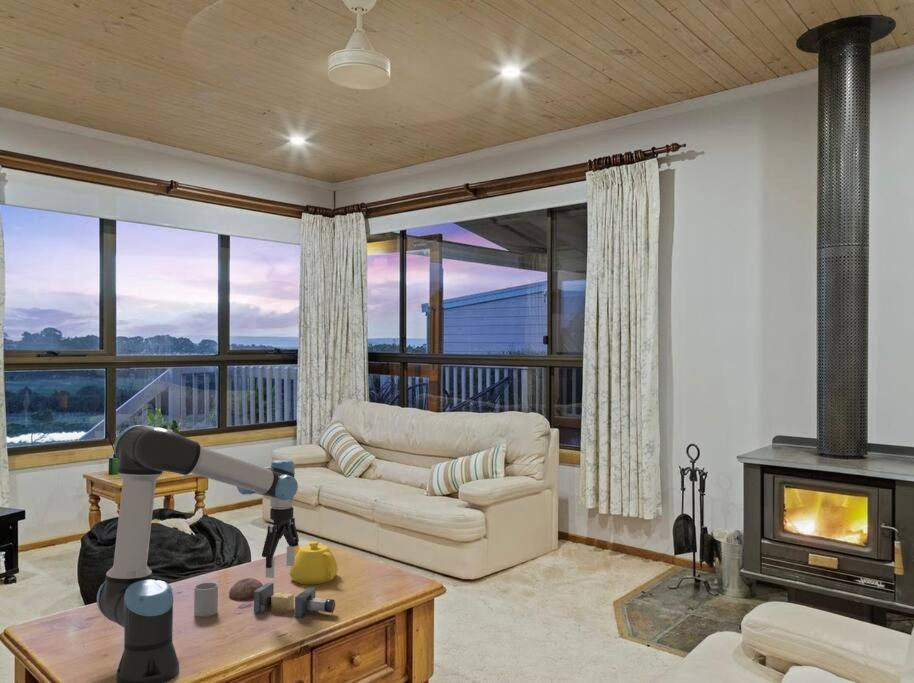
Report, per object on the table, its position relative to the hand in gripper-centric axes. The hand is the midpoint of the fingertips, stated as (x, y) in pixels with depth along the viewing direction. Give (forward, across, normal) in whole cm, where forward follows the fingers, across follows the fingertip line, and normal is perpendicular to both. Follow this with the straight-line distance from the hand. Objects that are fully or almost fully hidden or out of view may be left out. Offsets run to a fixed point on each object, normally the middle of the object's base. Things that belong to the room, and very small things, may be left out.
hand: (280, 571), depth 228 cm
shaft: (+12, +1, -13) cm, 17 cm away
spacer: (+13, +1, -1) cm, 13 cm away
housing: (+13, +1, -2) cm, 13 cm away
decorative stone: (+13, +11, +19) cm, 26 cm away
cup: (+13, -7, +23) cm, 28 cm away
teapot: (+12, +34, +5) cm, 36 cm away
